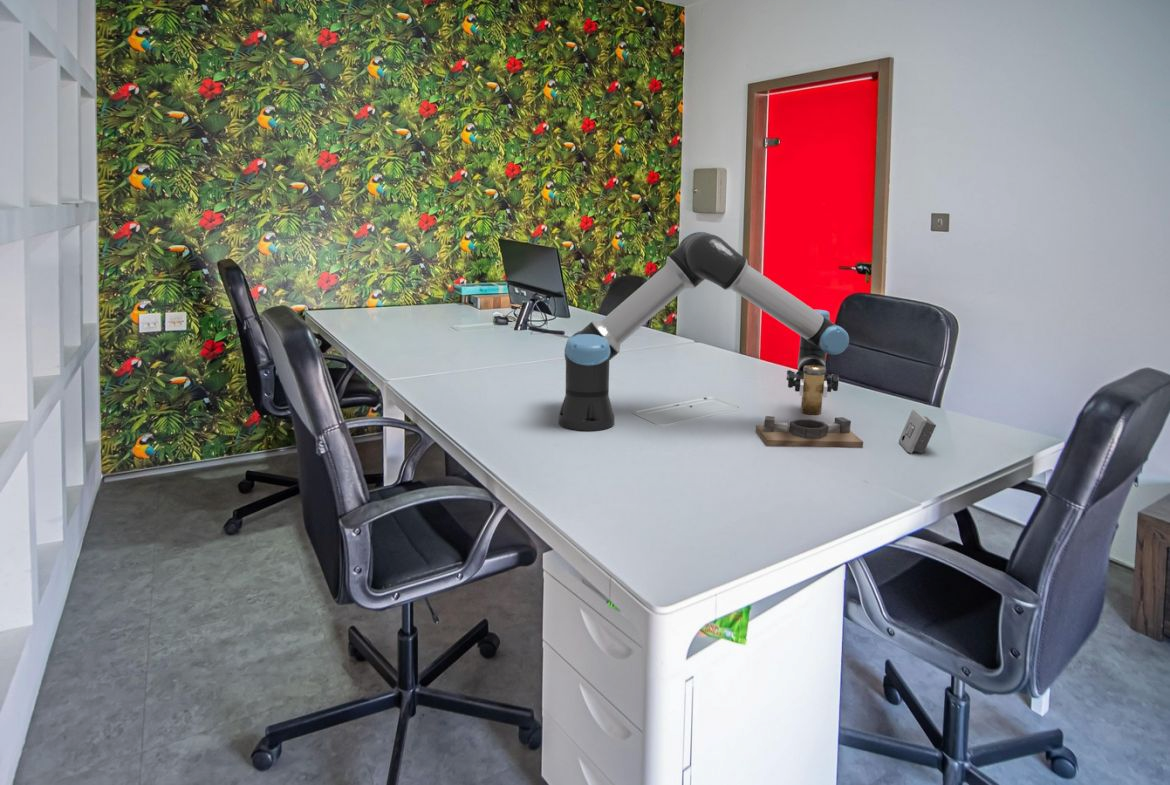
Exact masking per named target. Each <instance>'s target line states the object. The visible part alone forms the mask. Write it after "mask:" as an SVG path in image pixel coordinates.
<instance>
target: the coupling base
mask: <svg viewBox="0 0 1170 785" xmlns="http://www.w3.org/2000/svg"><path fill="white" fill-rule="evenodd" d="M764 417H765V418H764V421H763V425H759V424H758V425H755V432H756V433H757V435H758V436H759V437H760V438H761V440H762V442H763V443H764V444H765V446H766V447H801V448H802V447H803V448H804V447H805V448H807V447H809V448H811V447H815V448H816V447H817V448H861V449H862V448H863V447H864V440H862V439H861V438H860V437H858V436H857V435H856V434H855V433H854V431H852V430H851V422H852V420H850V419H847V418H845V417H843V416H841V417H834V422H833V423H831V422H829V423H825V422H824V421H820V420H816V419H809V418H808V419H807V418H806V419H803V418H797V419H794V420H792V421H790V422H789V423H788V422H779V421H778V422H777V421H776V420H775V418H776V417H775V416H774V415H773V416H771V415H765V416H764ZM788 424H789V425H788Z"/></svg>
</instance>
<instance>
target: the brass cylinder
mask: <svg viewBox="0 0 1170 785" xmlns="http://www.w3.org/2000/svg"><path fill="white" fill-rule="evenodd" d="M826 371H827V367H826V368H825V367H823V366H819V365H806V366H804V368H803V372H804V379H803V382H804V386H803V396H801V403H800V404H801V406H800V413H801V414H802V415H806V416H812V417H813V416H821V415H822V409H823V408H822V406H823V398H824V397H823V385H824V374H825V373H826Z"/></svg>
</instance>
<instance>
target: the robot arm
mask: <svg viewBox="0 0 1170 785" xmlns="http://www.w3.org/2000/svg"><path fill="white" fill-rule="evenodd" d="M665 262H666V263H665V265H664V266H662V268H660V269H659V270H658V271H657V272H655V274H653V275H652V276H651V277H650V278H648V279H647V281H645V283H643V284H641V286H640V287H638V288H637V289H636V290H635V291H634V292H632V293H631V295H629V296H628V297H627V298H625V299H624V301H622V302H621V303H620V304H619V305H617V307H616V308H614V309H613V310H611V312H609V313H608V314H607V315H606V316H605V317H604V318H602V319H601V320H592V321H591V322H590V323H588V325H586V326H585V327H584V328H583V329H581V330H579V331H577V332H575V333H573V334H572V335H570V337H569V338H568V339H567V341H566V342H565V347H564V353H563V354H564V359H565V396H564V398H563V402H562V404H561V407H560V410H559V413H558V424H559V425H560V426H561V427H562V428H563V427H564V428H565V429H569V430H574V431H588V432H589V431H600V430H601V431H602V430H606V429H610V428H612V427H613V426H614V425H615V413H614V410H613V407H612V403H611V399H610V392H609V390H610V361H611V360H612V359H613V358H614V357H615V356H617V354H619V353H620V350H621V345H622V343H624V342H625V341H626V340H627V339H629V338H630V337H631V336H632V335H633V334H634V333H635V332H637V331H638V330H639V329H640V328H641V327H643V326H644V324H646V323H647V322H648V321H649V320H650V319H652V318H653V317H654V316H655V315H656V314H657V313H659V312H660V311H661V310H662V309H664V307H666V306H667V305H668V304H669V303H670V302H672V301H673V300H674V299H675V298H676V297H678V295H680V294H681V293H682V292H683V291H684V290H686V289H692V290H693V289H695V288H696V287H698V286H699V285H701V283H703V281H705V280H707V281H709V282H711V283H713V284H715V285H717V286H718V287H720V288H722V289H723V290H725V291H727V290H732V291H733V292H735V293H736V294H738V295H739V296H740V297H742V298H744V299H745V300H746V301H748V302H750V303H751V304H752V305H754V306H756V307H757V308H759V309H760V310H761V311H763V312H764V313H766V314H768V315H769V316H770V317H772V318H773V319H775V320H777V322H779V323H781V324H783V325H784V326H785V327H787V328H788V329H790V330H791V331H793V332H795V333H796V334H798V336H800V338H799V350H798V358H797V371H796V372H795V371H792V370H790V369H788V370H786V381H787V382H788V383H787V388H789V389H791V388H792V389H793V388H794V392H798V393H799V396H801V397H802V396H803V386H804V382H803V379H804V372H803V368H804V366H806V365H819V366H823V367H825V368H826V369H827V367H826V365H827V364H826V363H827V362H826V361H827V354H828V355H839V354H841V353H843V352H844V351H845V350H847V348H848V346H849V343H850V336H849V334H848V332H847V331H846V330H845V328H843V327H841V326H840V325H837V324H835V323H834V322H832V321H831V319H830V312H829V311H827V310H823V309H813V308H812V307H811V306H809V305H807V304H806V303H805V302H803V301H802V300H800V299H799V298H797V297H796V296H795V295H793V294H792V293H790V292H789V291H787V290H786V289H784V288H783V287H781V286H780V285H779V284H777V283H775V282H774V281H772V280H771V279H770V278H768V277H767V276H765V275H763V274H762V273H761V272H760V271H758V270H757V269H755V268H753V267H752V266H751V265H749V264H748V263H749V262H748V259H747V258H746V257H745V256H743V255H741V254H740V253H739V252H737V251H736V250H735V248H733V247H731V245H730V244H728V243H727V242H726V241H725V240H724V239H723V238H721V237H720V236H718V235H716V234H711V233H709V232H706V231H697V232H693V233H690V234H688V235H686V237H684V238H683V239H682V240H681V241H680V243H679V244H678V246H677V247H676V248H675V249H674V250H673V251H672V252H670V253H669V255H667V256H666V261H665ZM839 379H840V374H838V373H834V374H833V373H832V374H829V373H828V372H827V370H826V373H825V374H824V385H823V397H822V398H827V397H828V393H832V391H834V392H837V391H839Z"/></svg>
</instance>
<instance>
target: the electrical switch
mask: <svg viewBox="0 0 1170 785" xmlns="http://www.w3.org/2000/svg"><path fill="white" fill-rule="evenodd" d="M936 427H937V425H936V424H935V423H934V422H933V421H932V420H931V419H930V418H929V417H928V416H924V415H923V414H921V413H920V412H919V411H918V410H916V409H912V410H911V412H910V414H909V416H908V419H907V421H906V423H905V425H904V428H903V429H902V432H901V434H900V437H899V439H898V443H899V445H900V446H901V447H902V448H903V449H904V450H905V451H906V452H907V453H909V454H913V452H915V453H920V454H924V452H925V451H926V449H927V447H928V444H929V442H930V440H931V437H932V435H933V434H934V431H935V430H936V429H935V428H936Z"/></svg>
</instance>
